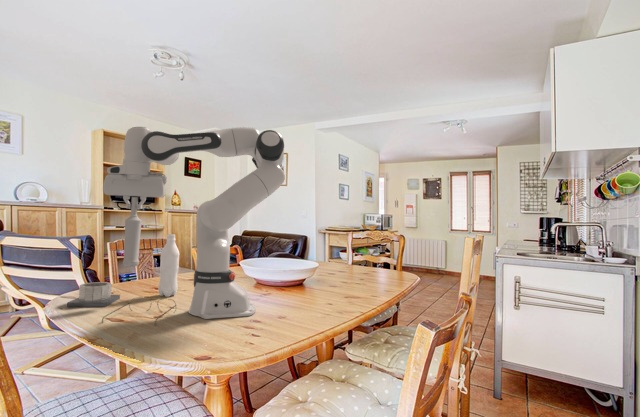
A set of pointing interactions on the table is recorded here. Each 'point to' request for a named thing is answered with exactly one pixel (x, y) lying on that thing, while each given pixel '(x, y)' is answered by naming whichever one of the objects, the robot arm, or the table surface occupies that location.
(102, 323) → the eyeglasses
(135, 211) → the bottle
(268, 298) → the table surface
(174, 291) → the water bottle
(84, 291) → the collar holder
